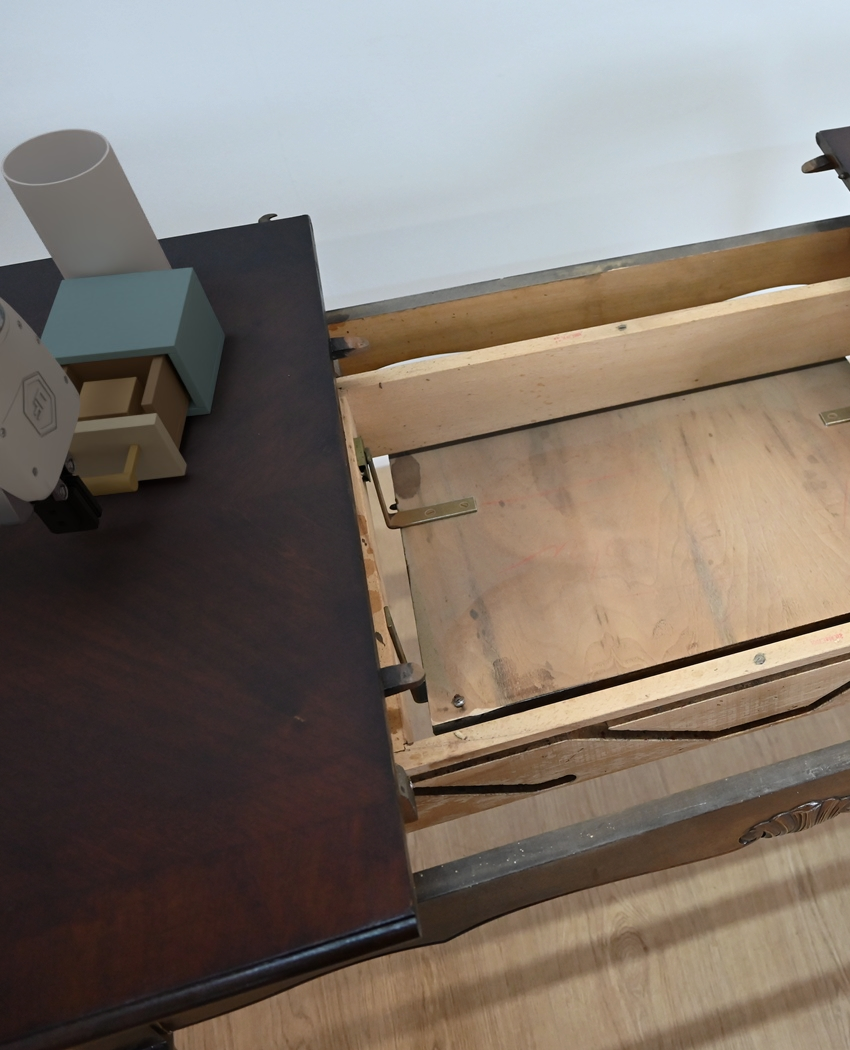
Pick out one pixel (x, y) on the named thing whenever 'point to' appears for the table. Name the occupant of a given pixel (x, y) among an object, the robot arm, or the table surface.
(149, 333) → the cabinet
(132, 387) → the block
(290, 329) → the table surface
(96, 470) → the drawer
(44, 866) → the table surface
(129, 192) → the cup
